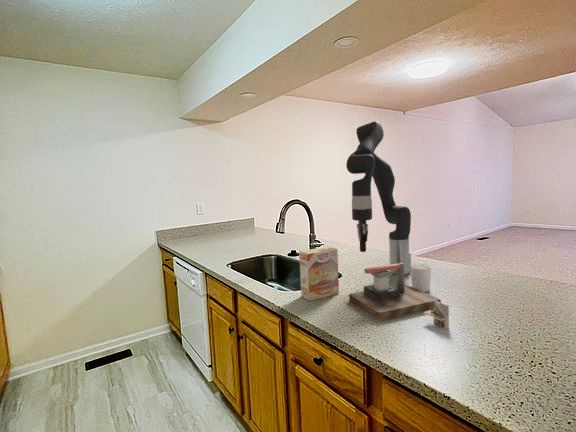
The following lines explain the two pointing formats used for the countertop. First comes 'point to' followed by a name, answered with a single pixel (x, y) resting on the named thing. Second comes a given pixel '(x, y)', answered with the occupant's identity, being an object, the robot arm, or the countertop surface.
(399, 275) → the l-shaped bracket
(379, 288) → the plug
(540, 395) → the countertop surface
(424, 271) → the white cup
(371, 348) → the countertop surface
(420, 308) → the socket board
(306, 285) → the coffeecake box
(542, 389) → the countertop surface
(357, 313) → the countertop surface
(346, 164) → the robot arm
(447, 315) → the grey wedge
